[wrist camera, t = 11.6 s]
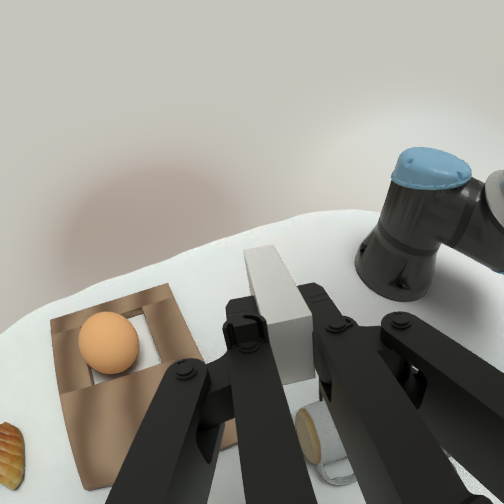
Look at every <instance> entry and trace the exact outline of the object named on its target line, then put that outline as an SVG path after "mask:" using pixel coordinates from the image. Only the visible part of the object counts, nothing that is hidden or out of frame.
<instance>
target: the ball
mask: <svg viewBox="0 0 504 504" xmlns="http://www.w3.org/2000/svg"><path fill="white" fill-rule="evenodd" d="M79 349H80V352H81V354H82V357H83V358H84V360H85V361H86V362H87V364H88V365H89V366H90V367H92V368H93V369H95V370H96V371H99V372H101V373H105V374H116V373H120V372H123V371H125V370H126V369H128V368H129V367H130V366H131V365H132V364H133V363H134V361H135V359H136V357H137V355H138V351H139V339H138V335H137V332H136V330H135V328H134V327H133V325H132V324H131V323H130V322H129V321H128V320H127V319H126V318H125V317H123V316H122V315H120V314H117V313H114V312H100V313H96V314H94V315H92V316H91V317H90V318H88V319H87V320H86V321H85V323H84V324H83V326H82V327H81V330H80V333H79Z"/></svg>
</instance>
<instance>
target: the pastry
mask: <svg viewBox="0 0 504 504" xmlns="http://www.w3.org/2000/svg"><path fill="white" fill-rule="evenodd" d="M24 462H25V457H24V440H23V437H22V434H21V432H20V430H19V429H18V428H16V427H15V426H13V425H11V424H9V423H7V422H4V423H3V424H0V483H1V484H3V485H4V486H6V487H7V488H8V489H10V490H15V489H16V488H17V487H18V485H19V484H20V483H21V482H22V480H23V474H24V467H25V464H24Z"/></svg>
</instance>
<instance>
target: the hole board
mask: <svg viewBox="0 0 504 504" xmlns="http://www.w3.org/2000/svg"><path fill="white" fill-rule="evenodd" d="M100 312H114V313H117V314H120V315H122V316H123V317H125V318H126V319H127V318H130V317H134V316H137V315H140V314H143V313H144V314H145V317H146V320H147V323H148V326H149V328H150V331H151V334H152V337H153V339H154V342H155V345H156V347H157V350H158V353H159V355H160V358H161V360H162V364H159V365H156V366H153V367H150V368H147V369H144V370H141V371H138V372H135V373H132V374H129V375H125V376H122V377H119V378H116V379H113V380H109V381H106V382H103V383H99V384H96V385H95V384H94V380H93V376H92V372H91V367H90V366H89V365H88V364H87V362H86V361H85V360H84V358H83V357H82V354H81V352H80V349H79V333H80V330H81V327H82V326H83V324H84V323H85V321H86V320H87V319H88V318H90V317H91V316H92V315H94V314H96V313H100ZM50 325H51V337H52V347H53V356H54V364H55V371H56V378H57V384H58V390H59V396H60V401H61V406H62V411H63V416H64V421H65V425H66V429H67V433H68V438H69V441H70V445H71V449H72V453H73V456H74V460H75V463H76V466H77V470H78V473H79V476H80V479H81V482H82V485H83V488H84V489H85V490H88V491H91V490H96V489H101V488H105V487H109V486H113V484H114V482H115V480H116V477H117V475H118V473H119V471H120V468H121V466H122V464H123V462H124V459H125V457H126V455H127V453H128V451H129V448H130V446H131V444H132V442H133V440H134V438H135V435H136V433H137V431H138V429H139V427H140V424H141V422H142V420H143V418H144V416H145V414H146V412H147V409H148V407H149V405H150V403H151V401H152V399H153V397H154V395H155V392H156V390H157V388H158V386H159V384H160V382H161V380H162V378H163V376H164V374H165V371H166V370H167V369H168V367H169V366H170V365H172V364H173V363H175V362H176V361H179V360H182V359H186V358H196V359H200V360H201V361H203V362H204V360H203V358H202V356H201V354H200V352H199V350H198V348H197V346H196V344H195V341H194V339H193V337H192V335H191V333H190V331H189V329H188V327H187V325H186V322H185V320H184V318H183V316H182V314H181V312H180V309H179V307H178V305H177V303H176V300H175V298H174V296H173V294H172V291H171V289H170V287H169V284H168V283H166V284H163V285H159V286H156V287H153V288H150V289H147V290H144V291H140V292H137V293H134V294H131V295H128V296H125V297H122V298H118V299H115V300H112V301H109V302H106V303H103V304H99V305H96V306H93V307H90V308H87V309H83V310H80V311H77V312H74V313H71V314H68V315H64V316H61V317H58V318H55V319H52V320H50ZM204 363H205V362H204ZM236 444H238V440H237V432H236V423H235V419H234V418H233V419H231V420H229V421H226V422H225V429H224V433H223V438H222V442H221V446H220V450H219V451H222V450H224V449H227V448H229V447H231V446H234V445H236Z"/></svg>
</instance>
